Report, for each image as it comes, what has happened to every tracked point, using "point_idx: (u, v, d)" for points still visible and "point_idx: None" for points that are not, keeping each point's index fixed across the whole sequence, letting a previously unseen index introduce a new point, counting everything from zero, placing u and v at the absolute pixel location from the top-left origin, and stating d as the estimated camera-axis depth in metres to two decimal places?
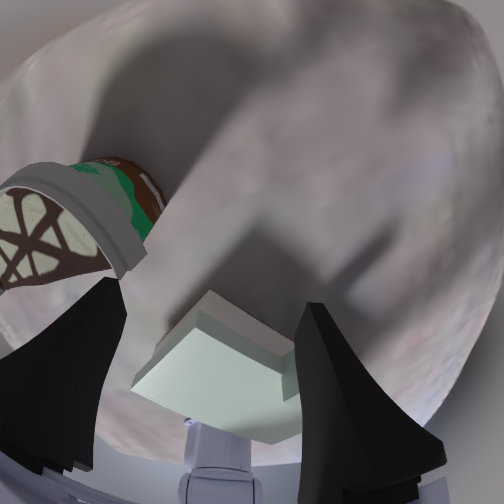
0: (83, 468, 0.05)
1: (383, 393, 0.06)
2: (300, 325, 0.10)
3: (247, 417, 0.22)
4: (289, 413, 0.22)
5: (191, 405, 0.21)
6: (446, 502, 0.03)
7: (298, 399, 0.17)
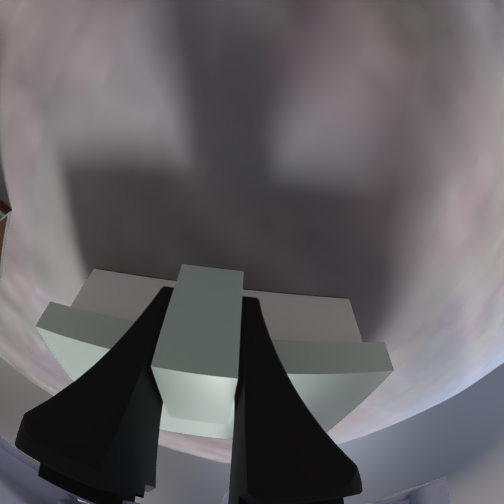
0: (148, 489, 0.06)
1: (296, 399, 0.06)
2: None
3: (230, 423, 0.14)
4: None
5: None
6: (446, 502, 0.03)
7: (184, 412, 0.08)
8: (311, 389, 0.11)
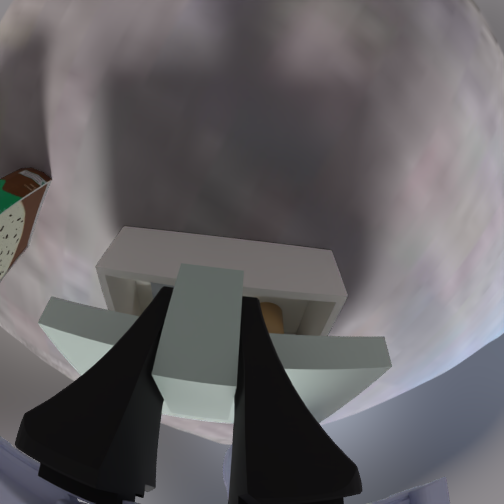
0: (147, 489, 0.06)
1: (296, 399, 0.06)
2: None
3: (230, 410, 0.15)
4: None
5: None
6: (446, 502, 0.03)
7: (185, 409, 0.08)
8: (310, 382, 0.12)
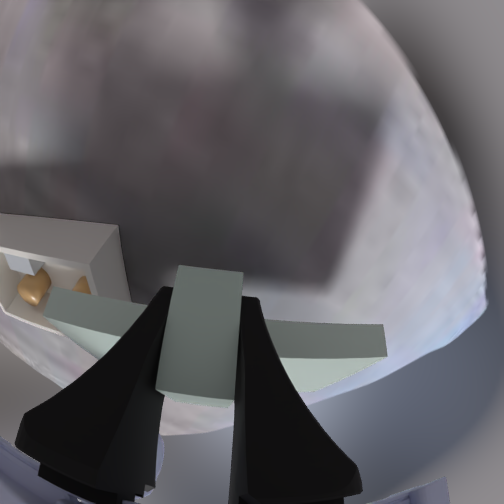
0: (147, 489, 0.06)
1: (296, 399, 0.06)
2: None
3: None
4: None
5: None
6: (446, 502, 0.03)
7: (188, 402, 0.09)
8: (307, 366, 0.13)
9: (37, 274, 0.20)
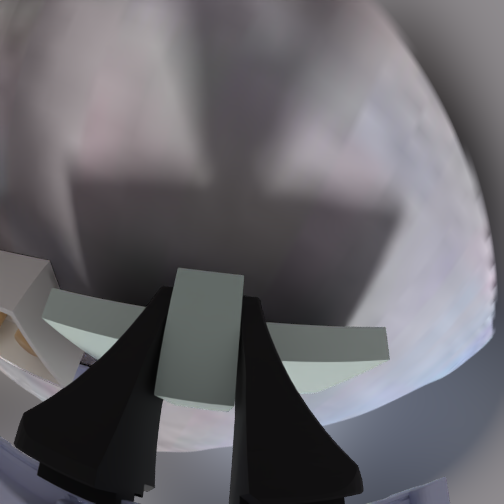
0: (147, 489, 0.06)
1: (297, 399, 0.06)
2: None
3: None
4: None
5: None
6: (446, 502, 0.03)
7: (188, 406, 0.09)
8: (309, 369, 0.12)
9: None
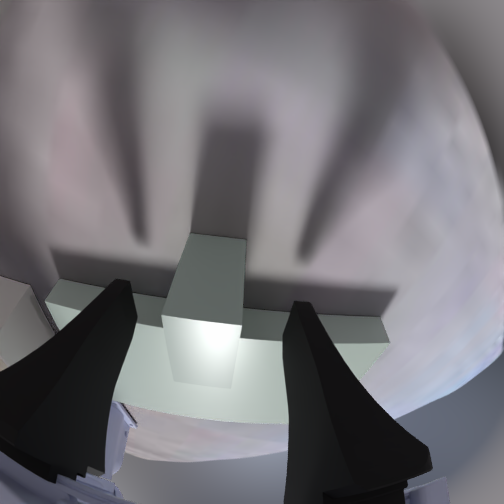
0: (95, 473, 0.05)
1: (367, 395, 0.06)
2: (287, 324, 0.10)
3: (231, 402, 0.15)
4: (280, 384, 0.14)
5: (158, 400, 0.16)
6: (446, 502, 0.03)
7: (189, 374, 0.09)
8: None
9: None
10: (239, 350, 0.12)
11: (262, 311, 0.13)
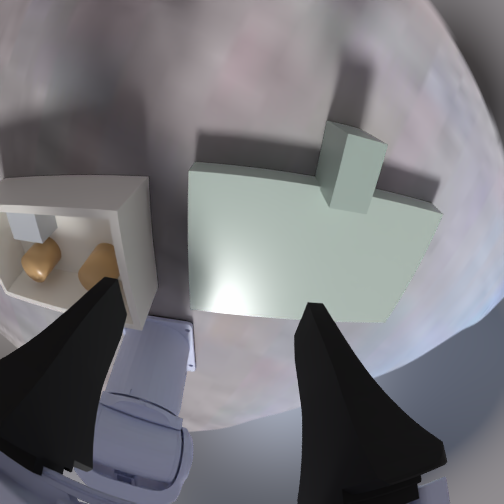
0: (83, 468, 0.05)
1: (383, 393, 0.06)
2: (300, 325, 0.10)
3: (328, 283, 0.20)
4: (372, 253, 0.18)
5: (258, 294, 0.20)
6: (446, 502, 0.03)
7: (344, 195, 0.13)
8: (396, 224, 0.17)
9: (45, 244, 0.18)
10: None
11: None
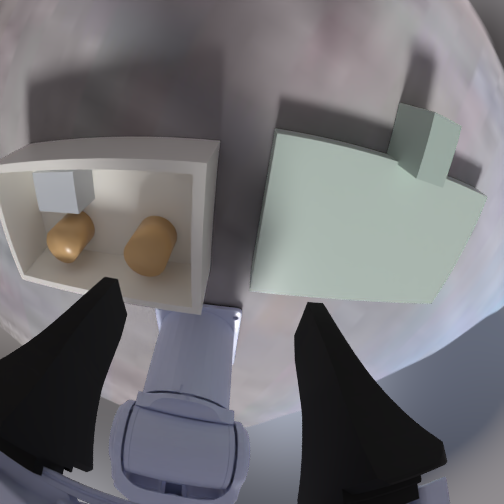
0: (83, 468, 0.05)
1: (383, 393, 0.06)
2: (300, 325, 0.10)
3: (392, 260, 0.19)
4: (432, 231, 0.17)
5: (325, 272, 0.19)
6: (446, 502, 0.03)
7: (429, 168, 0.12)
8: (453, 203, 0.16)
9: (78, 218, 0.17)
10: (423, 184, 0.15)
11: None
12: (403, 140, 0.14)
